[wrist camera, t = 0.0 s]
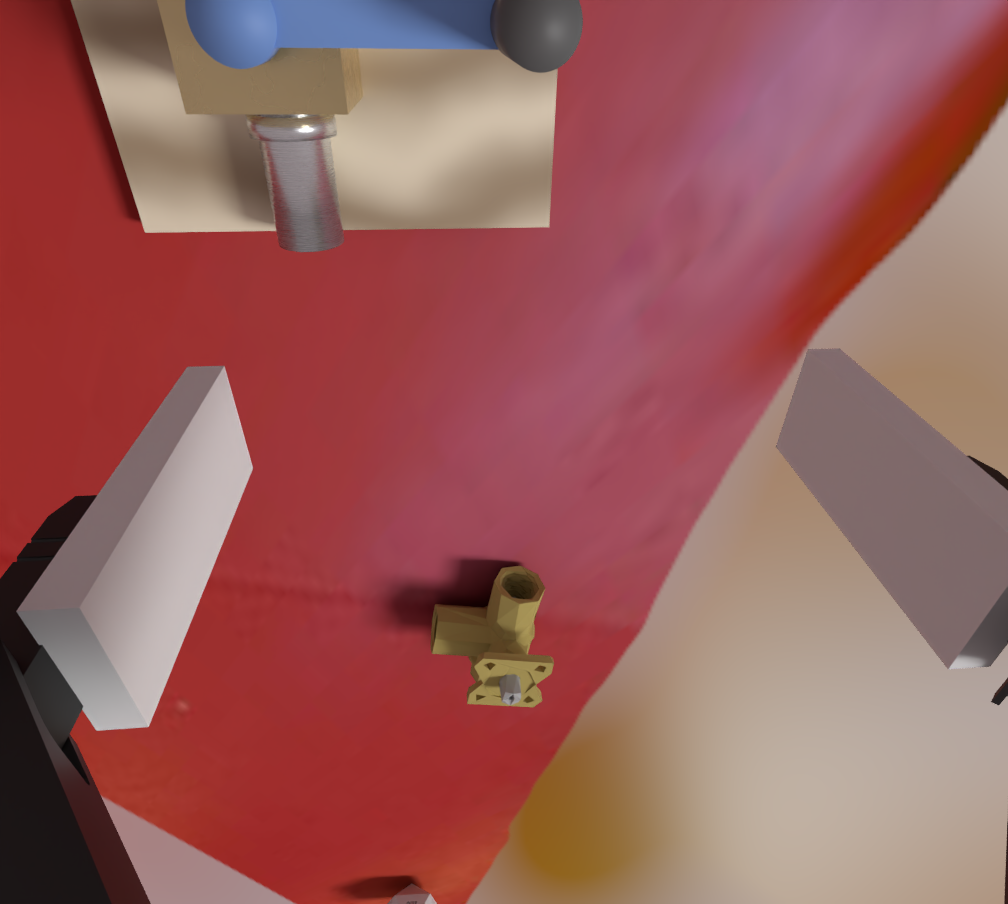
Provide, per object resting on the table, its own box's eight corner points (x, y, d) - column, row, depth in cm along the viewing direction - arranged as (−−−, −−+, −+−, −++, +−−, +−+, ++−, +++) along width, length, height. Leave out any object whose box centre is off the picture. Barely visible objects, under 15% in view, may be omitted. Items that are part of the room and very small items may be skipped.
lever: (188, -35, 23) (111, -48, 18) (553, -28, 24) (586, -38, 19) (210, 65, 25) (147, 81, 20) (548, 67, 26) (578, 83, 21)
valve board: (24, -197, 27) (4, -207, 26) (565, -177, 29) (570, -184, 28) (154, 225, 38) (145, 232, 36) (545, 220, 39) (549, 227, 38)
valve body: (165, -200, 26) (78, -267, 20) (332, -194, 27) (299, -257, 20) (258, 231, 37) (220, 277, 30) (377, 229, 37) (364, 274, 31)
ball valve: (523, 648, 65) (535, 739, 57) (425, 642, 63) (423, 735, 55) (553, 563, 58) (572, 653, 50) (444, 553, 56) (445, 645, 48)
